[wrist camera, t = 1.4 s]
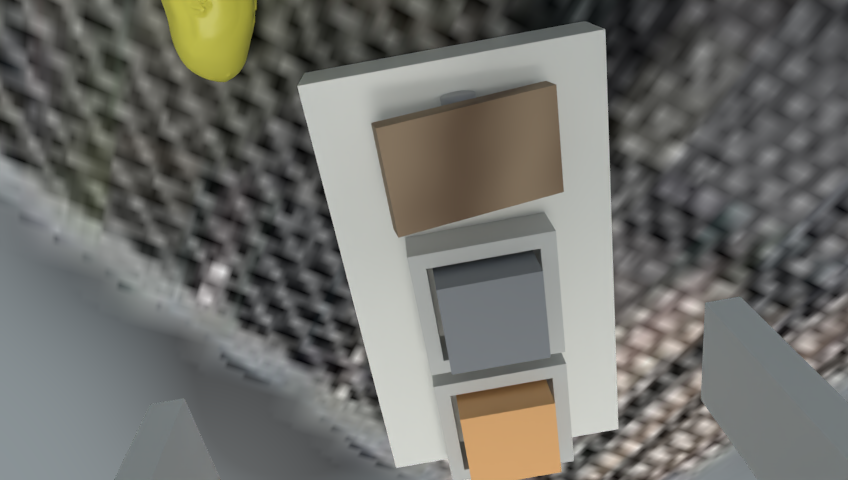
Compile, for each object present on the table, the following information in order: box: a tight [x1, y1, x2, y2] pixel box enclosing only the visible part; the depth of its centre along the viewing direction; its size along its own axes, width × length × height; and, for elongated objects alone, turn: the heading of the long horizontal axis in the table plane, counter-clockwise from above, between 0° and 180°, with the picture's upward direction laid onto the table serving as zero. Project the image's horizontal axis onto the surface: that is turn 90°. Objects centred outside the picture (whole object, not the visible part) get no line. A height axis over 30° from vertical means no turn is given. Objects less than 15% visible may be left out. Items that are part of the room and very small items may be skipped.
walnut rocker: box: [371, 81, 564, 238], centre depth 27 cm, size 8×5×1 cm, turn 100°
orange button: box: [456, 379, 561, 480], centre depth 34 cm, size 5×5×2 cm
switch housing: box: [297, 21, 618, 480], centre depth 33 cm, size 14×24×5 cm, turn 10°
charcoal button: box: [433, 250, 551, 375], centre depth 31 cm, size 5×5×2 cm
